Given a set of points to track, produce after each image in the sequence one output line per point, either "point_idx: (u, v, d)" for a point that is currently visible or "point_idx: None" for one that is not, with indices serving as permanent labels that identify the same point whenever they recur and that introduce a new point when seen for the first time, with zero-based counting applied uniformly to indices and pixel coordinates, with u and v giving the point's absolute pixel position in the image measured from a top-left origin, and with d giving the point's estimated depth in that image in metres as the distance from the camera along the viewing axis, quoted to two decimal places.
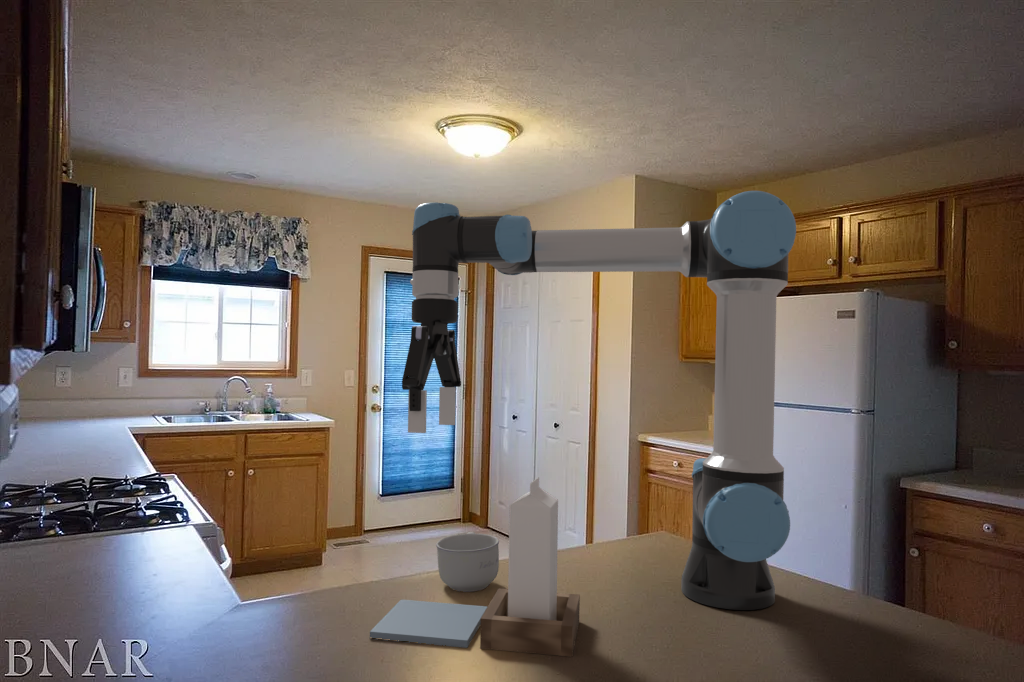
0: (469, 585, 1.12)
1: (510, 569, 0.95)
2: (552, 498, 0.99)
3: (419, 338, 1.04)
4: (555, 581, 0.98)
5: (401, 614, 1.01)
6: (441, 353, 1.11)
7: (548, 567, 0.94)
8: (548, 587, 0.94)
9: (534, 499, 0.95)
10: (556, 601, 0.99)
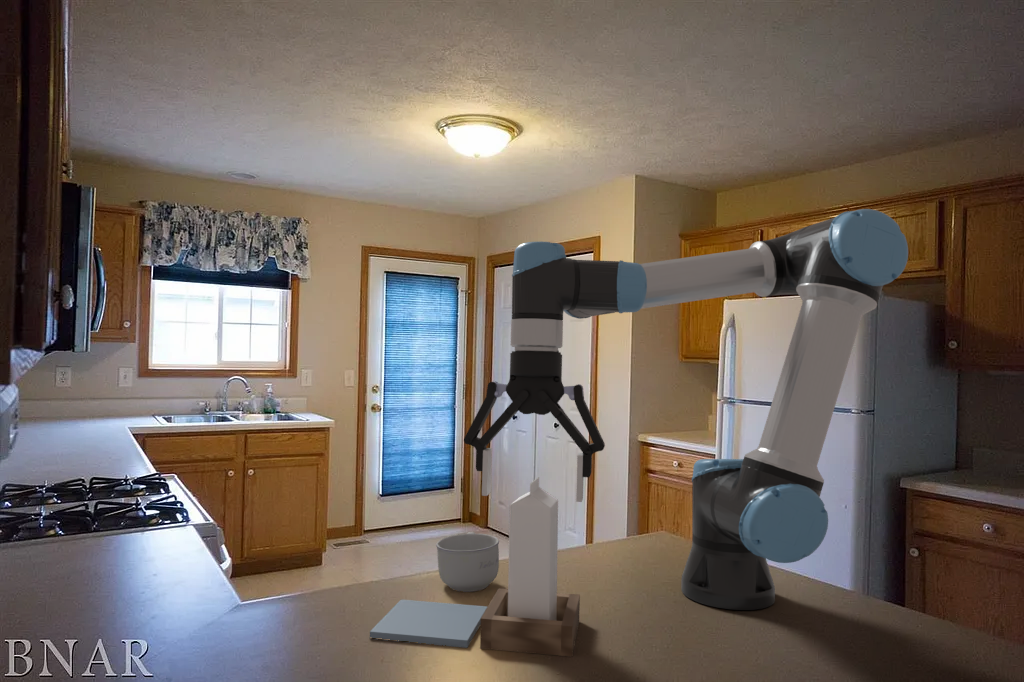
0: (469, 585, 1.12)
1: (510, 569, 0.95)
2: (552, 498, 0.99)
3: None
4: (555, 581, 0.98)
5: (401, 614, 1.01)
6: (538, 412, 0.97)
7: (548, 567, 0.94)
8: (548, 587, 0.94)
9: (534, 499, 0.95)
10: (556, 601, 0.99)
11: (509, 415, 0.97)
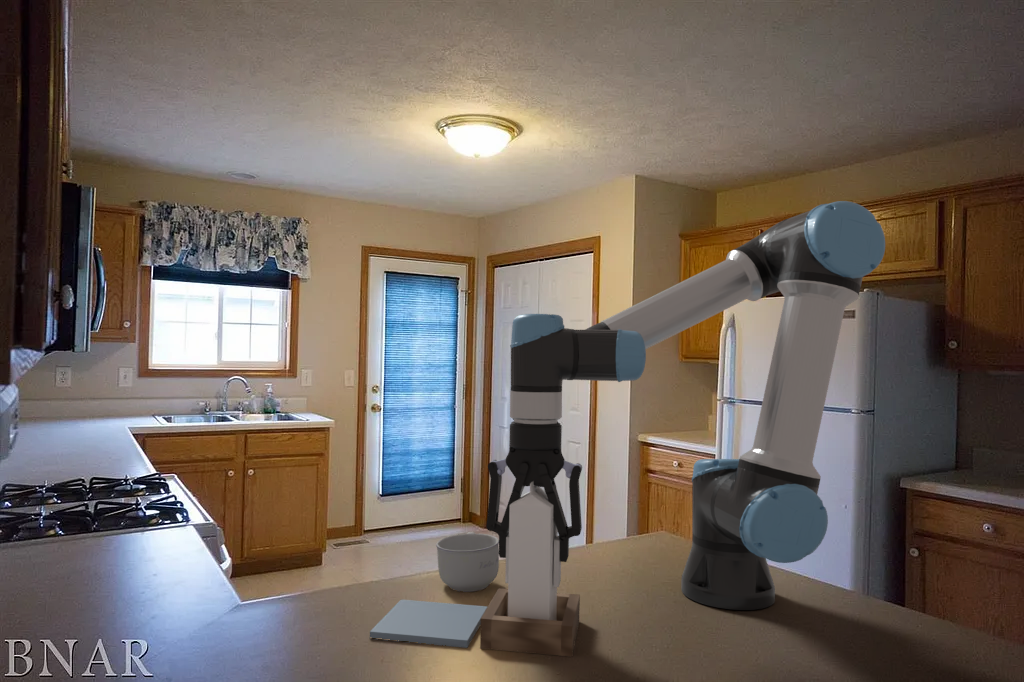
0: (469, 585, 1.12)
1: (510, 569, 0.95)
2: None
3: None
4: None
5: (401, 614, 1.01)
6: (538, 484, 0.97)
7: (548, 567, 0.94)
8: (548, 587, 0.94)
9: (534, 499, 0.95)
10: (556, 601, 0.99)
11: (518, 492, 0.97)
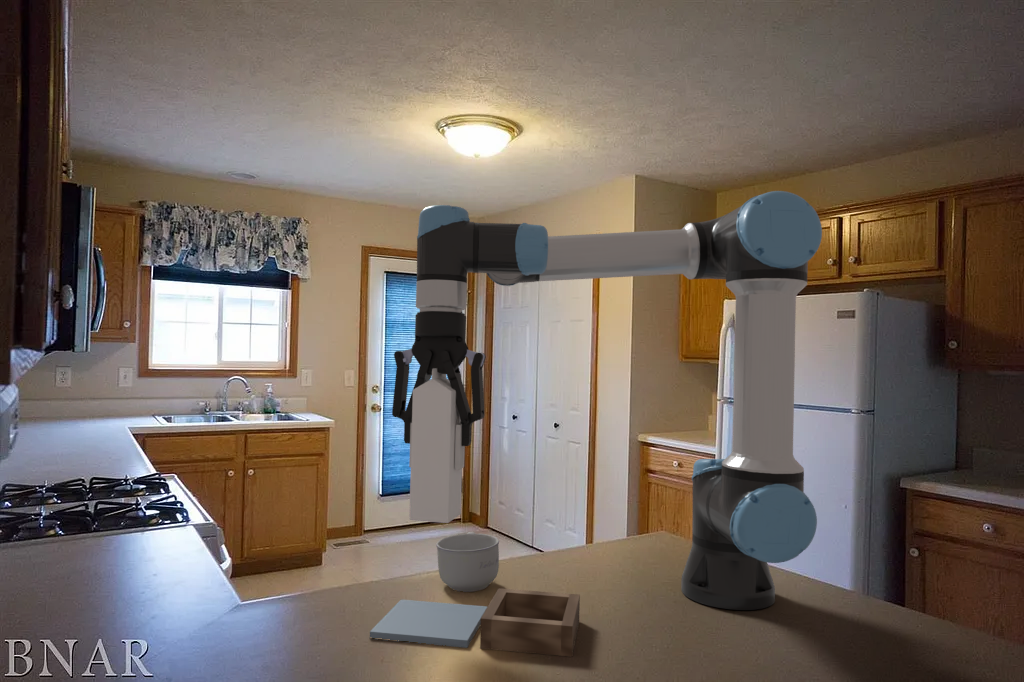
0: (469, 585, 1.12)
1: (412, 452, 0.98)
2: None
3: None
4: None
5: (401, 614, 1.01)
6: (442, 371, 0.99)
7: (448, 448, 0.97)
8: (448, 468, 0.97)
9: (436, 384, 0.98)
10: (461, 487, 1.02)
11: (422, 379, 1.00)
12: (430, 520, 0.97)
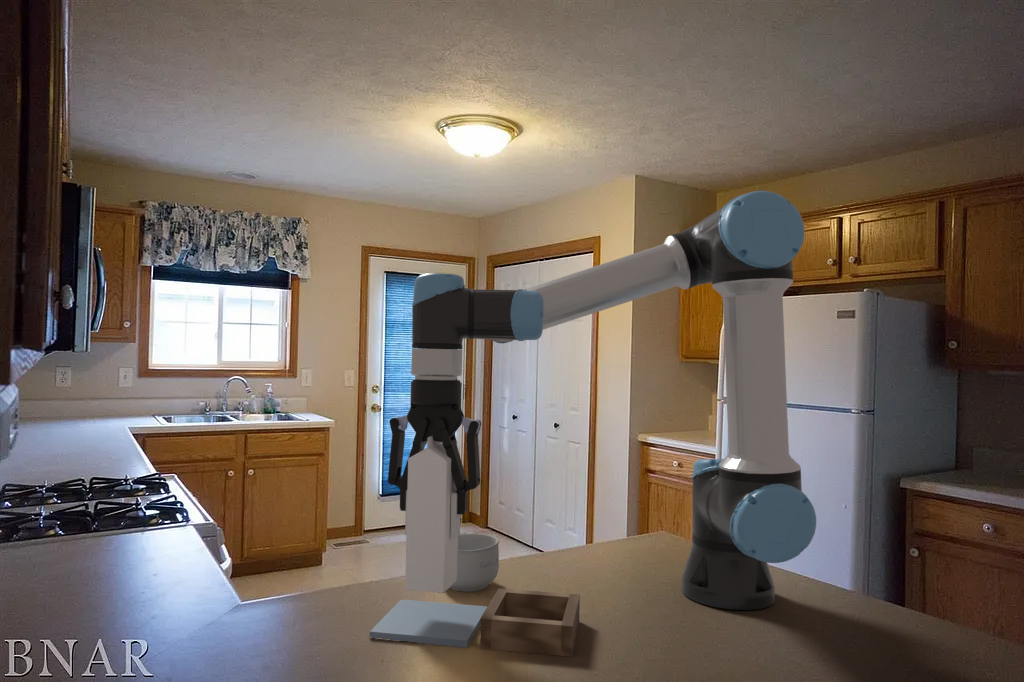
0: (469, 585, 1.12)
1: (408, 520, 0.98)
2: None
3: None
4: None
5: (401, 614, 1.01)
6: (437, 439, 0.99)
7: (444, 518, 0.97)
8: (443, 537, 0.96)
9: (432, 453, 0.98)
10: None
11: (418, 447, 0.99)
12: (426, 590, 0.97)
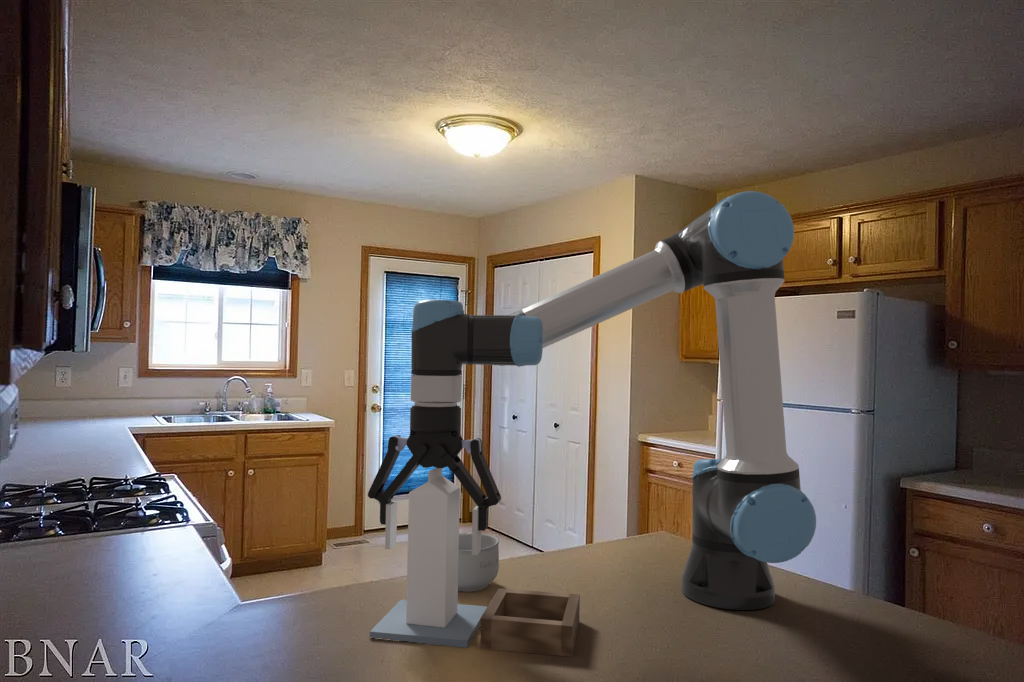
0: (469, 585, 1.12)
1: (409, 555, 0.98)
2: (453, 486, 1.01)
3: None
4: (455, 567, 1.01)
5: (401, 614, 1.01)
6: (437, 465, 0.99)
7: (445, 552, 0.96)
8: (445, 572, 0.96)
9: (432, 487, 0.98)
10: (457, 586, 1.02)
11: (410, 469, 1.00)
12: (427, 624, 0.97)
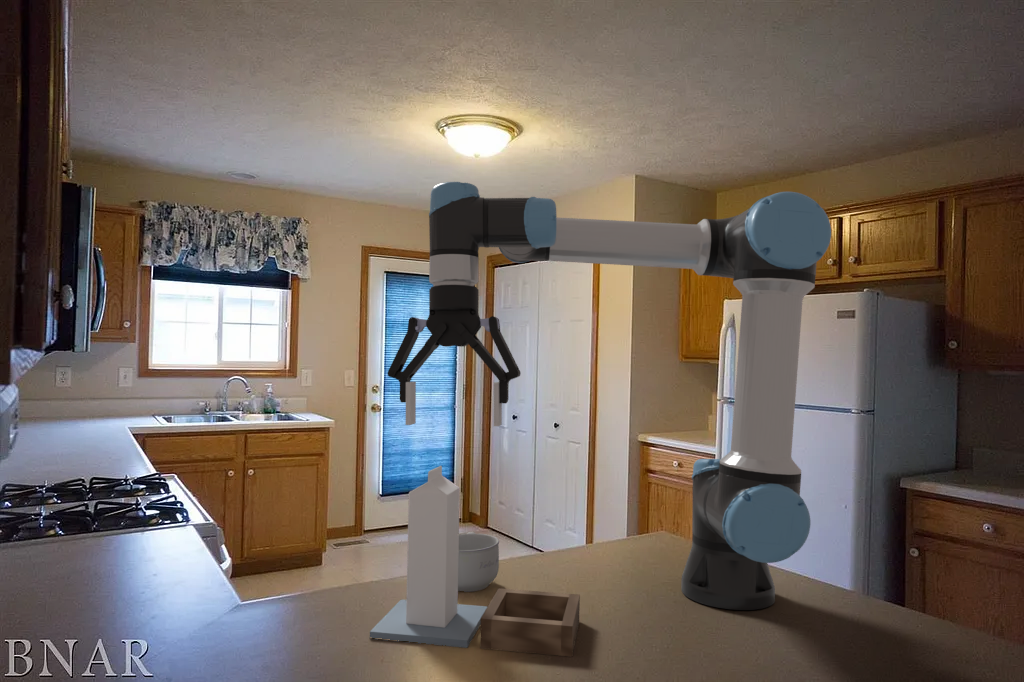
0: (469, 585, 1.12)
1: (409, 555, 0.98)
2: (453, 486, 1.01)
3: None
4: (455, 567, 1.01)
5: (401, 614, 1.01)
6: (456, 344, 1.02)
7: (445, 552, 0.96)
8: (445, 572, 0.96)
9: (432, 487, 0.98)
10: (457, 586, 1.02)
11: (429, 348, 1.03)
12: (427, 624, 0.97)
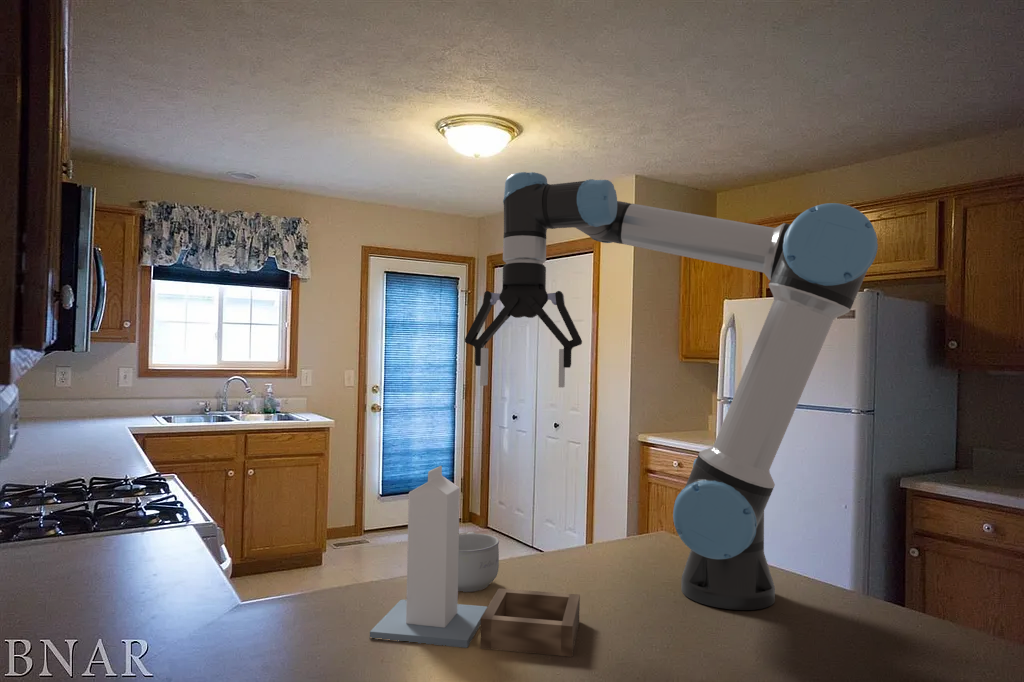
0: (469, 585, 1.12)
1: (409, 555, 0.98)
2: (453, 486, 1.01)
3: None
4: (455, 567, 1.01)
5: (401, 614, 1.01)
6: (526, 315, 1.16)
7: (445, 552, 0.96)
8: (445, 572, 0.96)
9: (432, 487, 0.98)
10: (457, 586, 1.02)
11: (502, 318, 1.17)
12: (427, 624, 0.97)
